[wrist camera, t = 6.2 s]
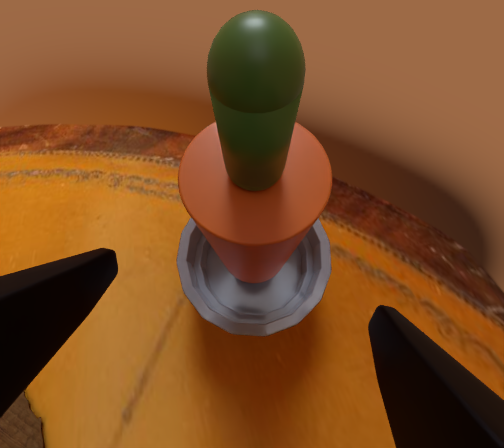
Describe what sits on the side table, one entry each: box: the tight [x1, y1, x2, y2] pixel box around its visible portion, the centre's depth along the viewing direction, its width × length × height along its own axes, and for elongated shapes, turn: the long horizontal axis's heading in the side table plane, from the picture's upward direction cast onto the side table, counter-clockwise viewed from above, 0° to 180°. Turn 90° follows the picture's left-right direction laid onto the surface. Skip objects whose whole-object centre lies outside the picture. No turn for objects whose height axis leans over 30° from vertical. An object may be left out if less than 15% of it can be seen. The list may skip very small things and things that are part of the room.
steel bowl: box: [177, 218, 331, 336], centre depth 16 cm, size 9×9×4 cm
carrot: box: [178, 10, 332, 283], centre depth 10 cm, size 4×4×16 cm
